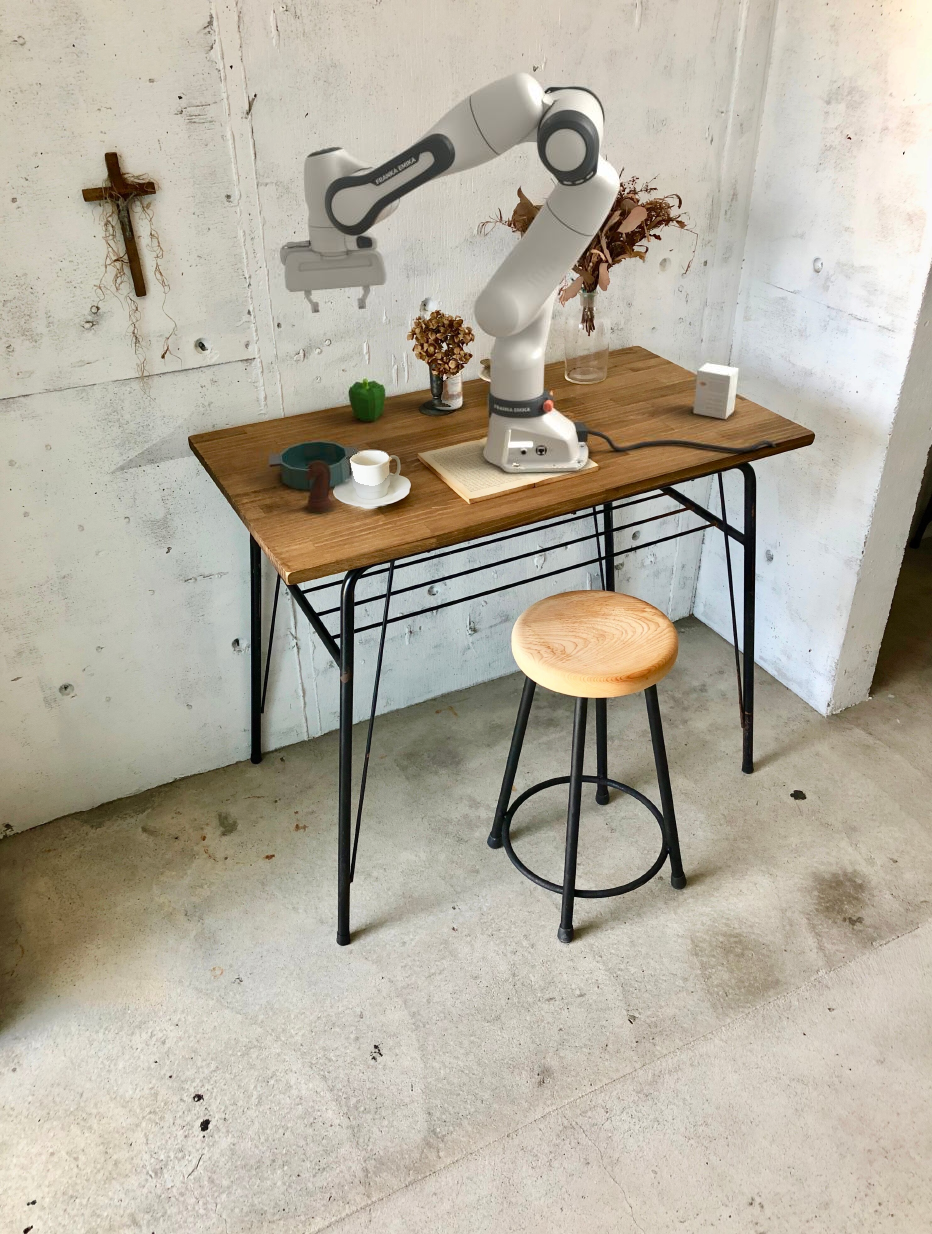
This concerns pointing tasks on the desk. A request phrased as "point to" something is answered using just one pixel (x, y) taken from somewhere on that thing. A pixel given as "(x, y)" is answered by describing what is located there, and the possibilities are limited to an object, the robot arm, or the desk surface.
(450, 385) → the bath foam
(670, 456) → the desk surface
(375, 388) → the bell pepper
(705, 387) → the small box
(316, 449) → the cooking pot
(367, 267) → the robot arm
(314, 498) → the chess piece
